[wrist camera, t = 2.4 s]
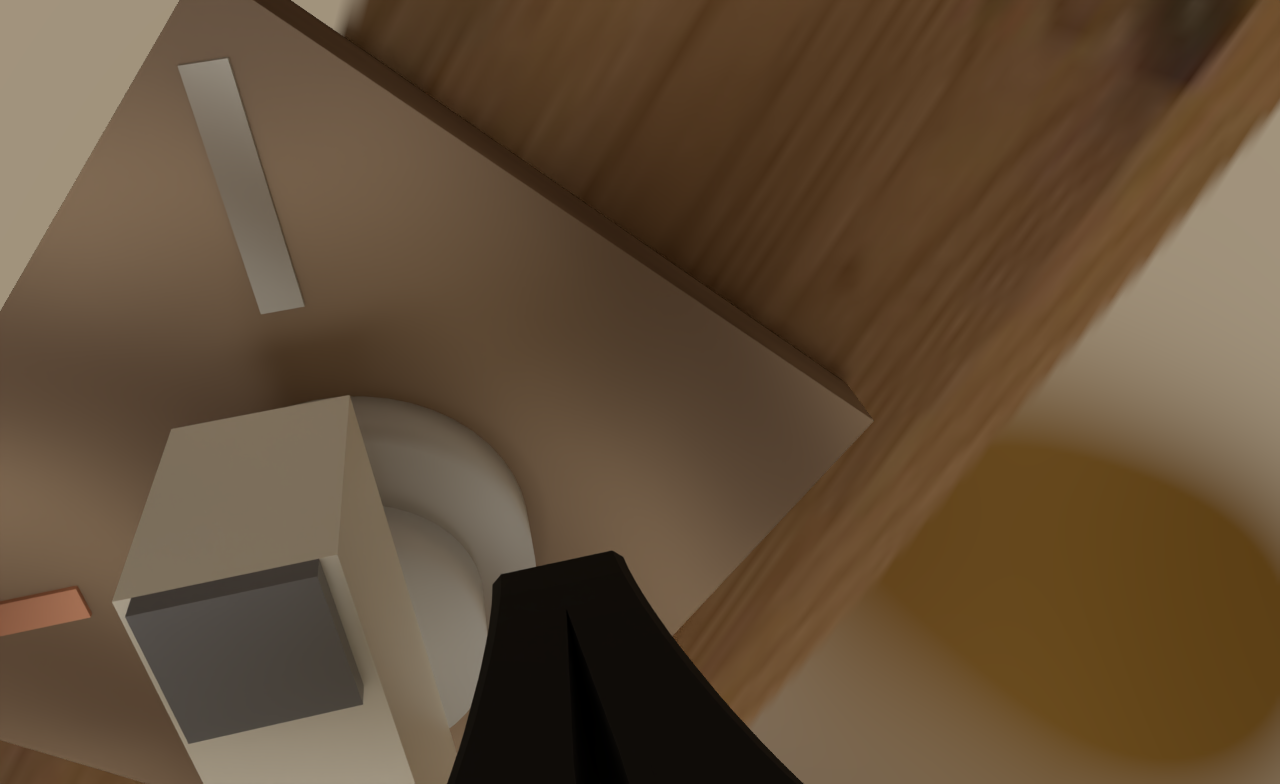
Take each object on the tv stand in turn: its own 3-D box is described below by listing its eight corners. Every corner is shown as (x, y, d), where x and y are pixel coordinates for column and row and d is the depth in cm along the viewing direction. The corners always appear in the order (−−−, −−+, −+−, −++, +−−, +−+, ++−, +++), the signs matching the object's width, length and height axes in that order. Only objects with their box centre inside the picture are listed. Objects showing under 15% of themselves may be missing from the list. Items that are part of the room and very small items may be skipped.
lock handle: (526, 765, 21) (562, 1032, 17) (306, 817, 20) (281, 1108, 16) (419, 332, 16) (429, 552, 11) (120, 387, 15) (5, 642, 11)
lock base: (446, 820, 26) (452, 931, 24) (-173, 620, 20) (-256, 743, 17) (846, 383, 22) (905, 462, 19) (216, -51, 16) (181, -19, 13)
